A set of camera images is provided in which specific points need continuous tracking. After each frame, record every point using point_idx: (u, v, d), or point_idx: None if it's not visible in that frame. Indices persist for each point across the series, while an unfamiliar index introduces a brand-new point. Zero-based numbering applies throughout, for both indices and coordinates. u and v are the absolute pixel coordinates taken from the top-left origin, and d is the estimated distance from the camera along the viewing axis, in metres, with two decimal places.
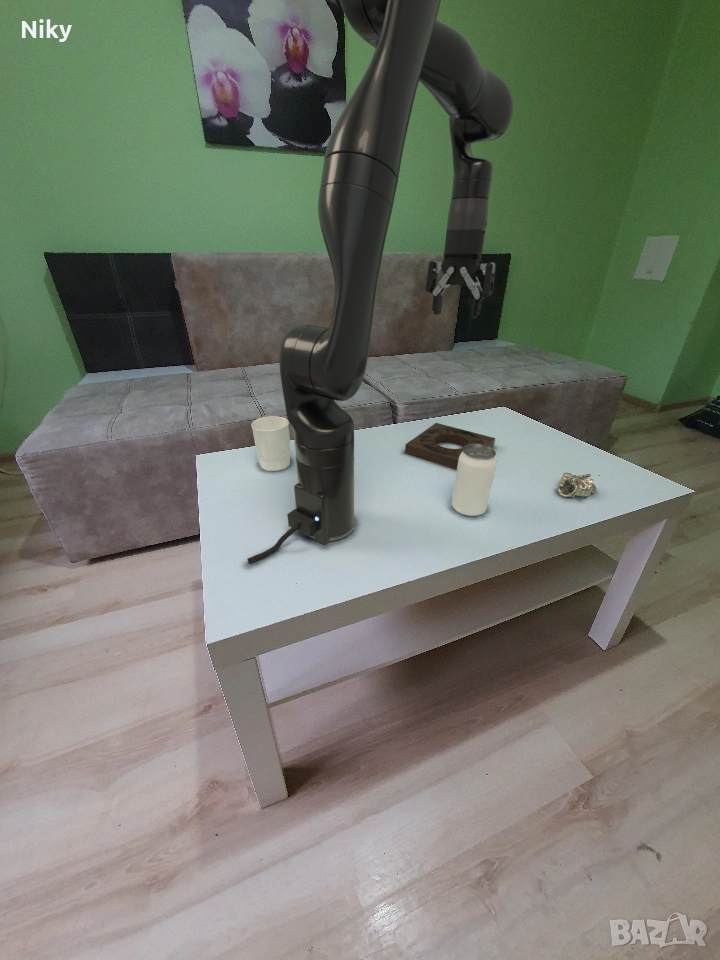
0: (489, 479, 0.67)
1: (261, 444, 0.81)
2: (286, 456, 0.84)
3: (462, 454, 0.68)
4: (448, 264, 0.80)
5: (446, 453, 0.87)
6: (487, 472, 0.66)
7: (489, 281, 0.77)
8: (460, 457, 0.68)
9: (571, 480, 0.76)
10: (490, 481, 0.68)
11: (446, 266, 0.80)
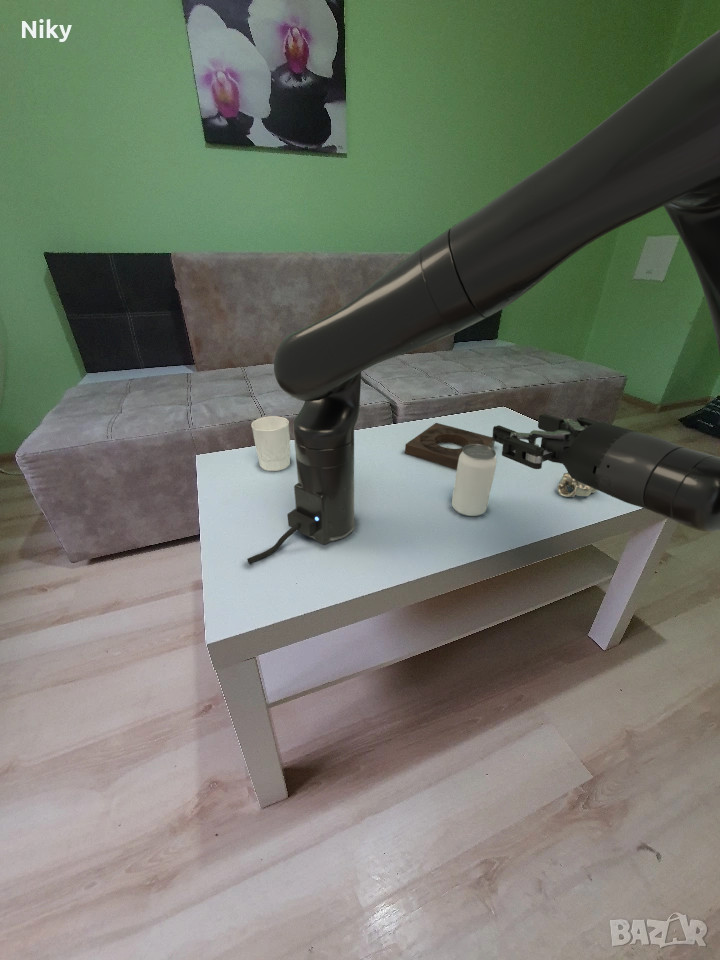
0: (489, 479, 0.67)
1: (261, 444, 0.81)
2: (286, 456, 0.84)
3: (462, 454, 0.68)
4: None
5: (446, 453, 0.87)
6: (487, 472, 0.66)
7: (518, 443, 0.48)
8: (460, 457, 0.68)
9: (571, 480, 0.76)
10: (490, 481, 0.68)
11: None
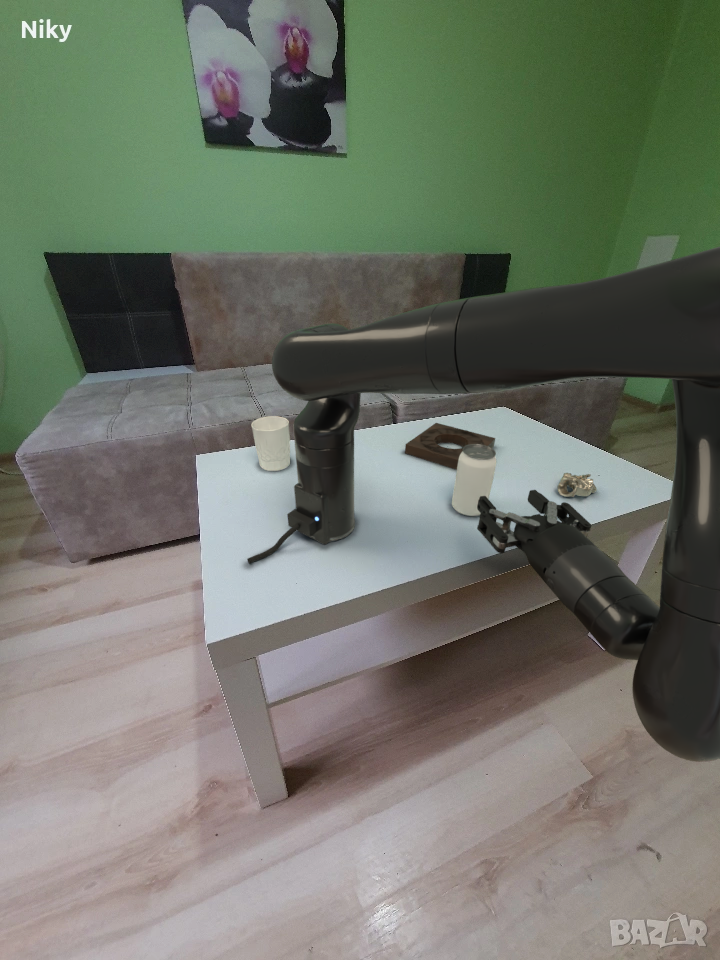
0: (489, 479, 0.67)
1: (261, 444, 0.81)
2: (286, 456, 0.84)
3: (462, 454, 0.68)
4: None
5: (446, 453, 0.87)
6: (487, 472, 0.66)
7: (489, 525, 0.53)
8: (460, 457, 0.68)
9: (571, 480, 0.76)
10: (490, 481, 0.68)
11: None
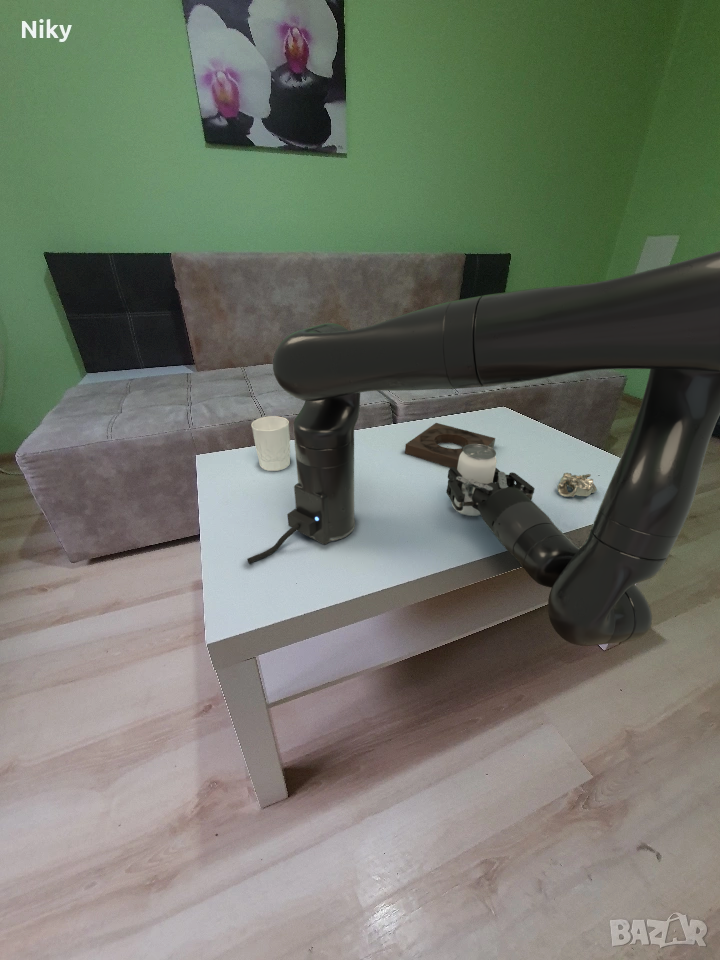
0: (489, 479, 0.67)
1: (261, 444, 0.81)
2: (286, 456, 0.84)
3: (462, 454, 0.68)
4: None
5: (446, 453, 0.87)
6: (487, 472, 0.66)
7: (453, 488, 0.64)
8: (460, 457, 0.68)
9: (571, 480, 0.76)
10: (490, 481, 0.68)
11: None
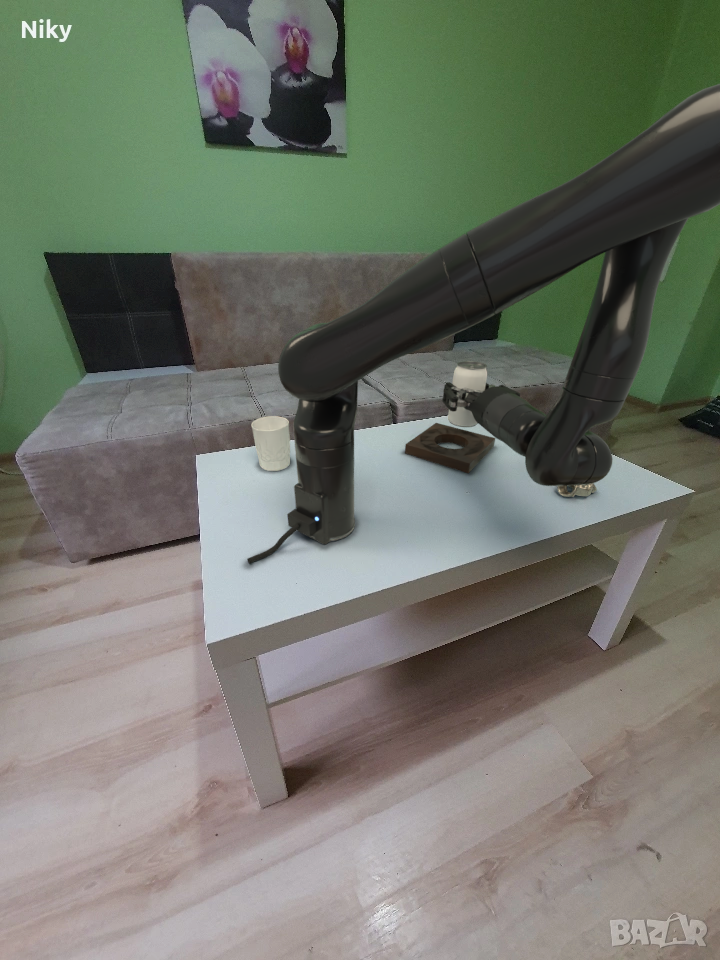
0: (480, 389, 0.75)
1: (261, 444, 0.81)
2: (286, 456, 0.84)
3: (457, 367, 0.76)
4: None
5: (446, 453, 0.87)
6: (479, 381, 0.74)
7: (448, 393, 0.72)
8: (455, 370, 0.76)
9: None
10: None
11: None
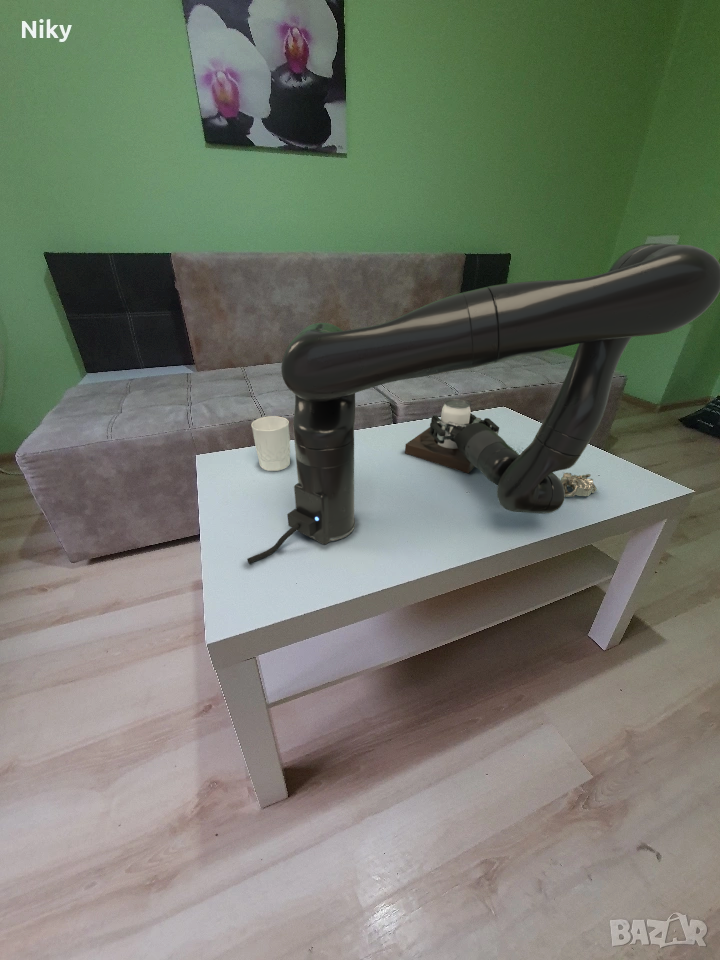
0: None
1: (261, 444, 0.81)
2: (286, 456, 0.84)
3: (444, 406, 0.88)
4: None
5: (446, 453, 0.87)
6: (463, 418, 0.86)
7: (435, 427, 0.83)
8: (443, 408, 0.88)
9: (571, 480, 0.76)
10: None
11: None
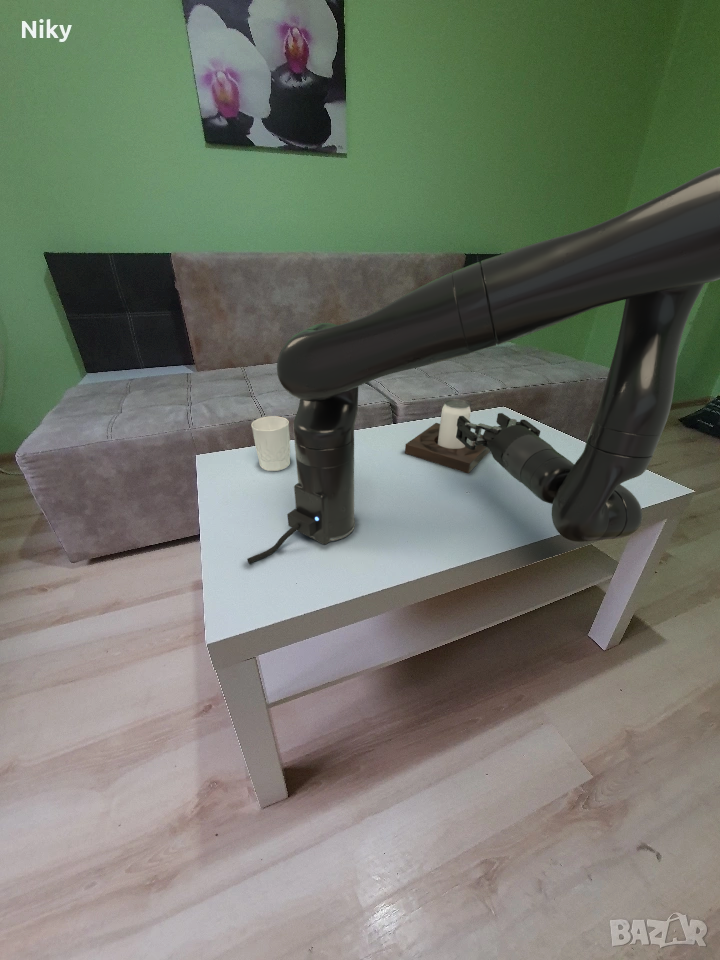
0: None
1: (261, 444, 0.81)
2: (286, 456, 0.84)
3: (444, 406, 0.88)
4: None
5: (446, 453, 0.87)
6: None
7: (464, 430, 0.70)
8: (443, 408, 0.88)
9: None
10: None
11: None
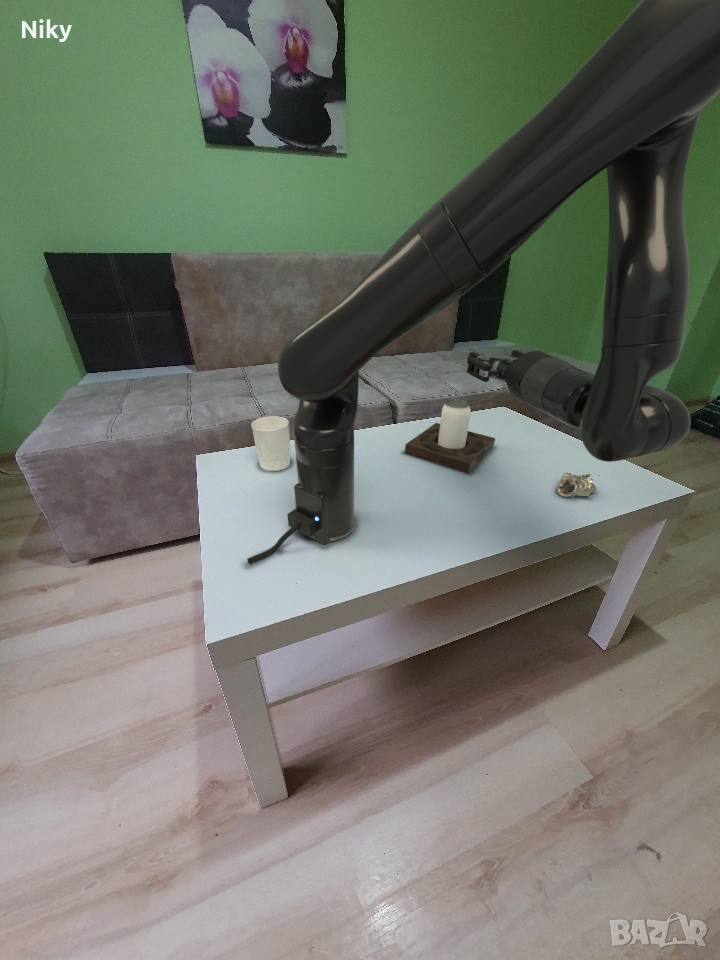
0: (464, 424, 0.87)
1: (261, 444, 0.81)
2: (286, 456, 0.84)
3: (444, 406, 0.88)
4: None
5: (446, 453, 0.87)
6: (463, 418, 0.86)
7: (476, 362, 0.64)
8: (443, 408, 0.88)
9: (571, 480, 0.76)
10: (466, 426, 0.88)
11: None
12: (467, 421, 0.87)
